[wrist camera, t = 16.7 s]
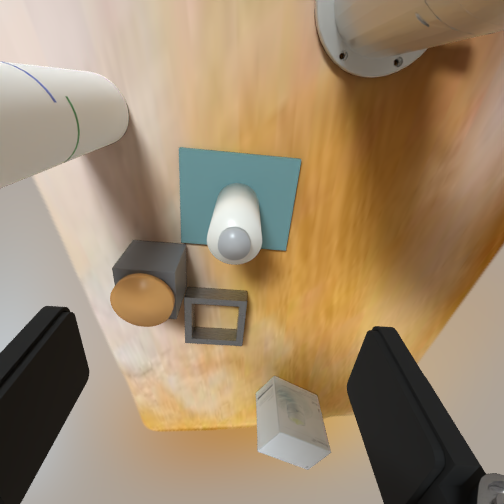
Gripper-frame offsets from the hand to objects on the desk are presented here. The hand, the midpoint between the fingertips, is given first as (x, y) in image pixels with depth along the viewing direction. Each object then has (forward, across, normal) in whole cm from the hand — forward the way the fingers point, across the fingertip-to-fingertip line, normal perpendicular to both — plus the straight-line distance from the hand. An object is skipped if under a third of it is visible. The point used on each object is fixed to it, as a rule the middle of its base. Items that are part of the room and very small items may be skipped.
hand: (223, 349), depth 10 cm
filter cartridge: (+28, 0, +5) cm, 28 cm away
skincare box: (+29, -12, +42) cm, 52 cm away
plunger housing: (+28, +10, +15) cm, 34 cm away
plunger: (+25, +10, +15) cm, 31 cm away
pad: (+28, 0, +5) cm, 29 cm away
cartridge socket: (+28, +2, +23) cm, 37 cm away
